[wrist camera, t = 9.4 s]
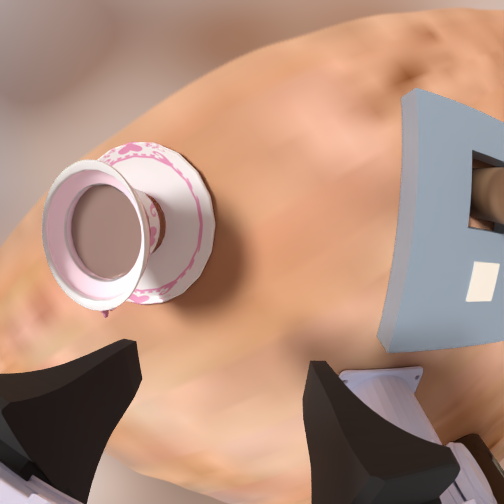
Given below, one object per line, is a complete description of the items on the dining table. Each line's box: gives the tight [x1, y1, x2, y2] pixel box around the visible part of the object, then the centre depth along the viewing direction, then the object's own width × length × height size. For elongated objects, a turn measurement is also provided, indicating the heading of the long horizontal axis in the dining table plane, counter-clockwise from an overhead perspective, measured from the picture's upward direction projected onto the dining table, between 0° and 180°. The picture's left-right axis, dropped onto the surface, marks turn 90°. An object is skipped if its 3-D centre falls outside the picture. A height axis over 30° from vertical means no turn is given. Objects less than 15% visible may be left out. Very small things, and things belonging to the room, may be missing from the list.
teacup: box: [42, 142, 216, 318], centre depth 17 cm, size 12×12×6 cm
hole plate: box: [377, 88, 504, 353], centre depth 16 cm, size 18×15×3 cm
